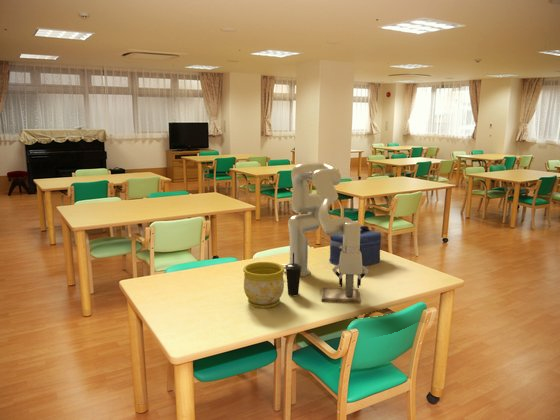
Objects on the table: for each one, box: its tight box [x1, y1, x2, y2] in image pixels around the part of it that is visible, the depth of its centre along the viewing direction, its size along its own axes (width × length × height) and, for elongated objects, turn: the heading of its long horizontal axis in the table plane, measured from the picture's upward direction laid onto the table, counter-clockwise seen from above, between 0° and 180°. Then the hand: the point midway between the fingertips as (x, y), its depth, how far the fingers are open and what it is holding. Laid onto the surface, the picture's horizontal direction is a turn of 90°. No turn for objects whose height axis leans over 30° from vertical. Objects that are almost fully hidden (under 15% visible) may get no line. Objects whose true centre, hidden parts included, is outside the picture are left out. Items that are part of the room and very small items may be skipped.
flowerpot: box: [242, 261, 285, 309], centre depth 195 cm, size 18×18×16 cm
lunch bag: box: [328, 224, 382, 267], centre depth 253 cm, size 31×21×20 cm
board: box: [321, 287, 361, 304], centre depth 204 cm, size 17×14×2 cm
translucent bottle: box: [344, 274, 355, 298], centre depth 199 cm, size 4×4×13 cm
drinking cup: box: [285, 253, 302, 297], centre depth 205 cm, size 8×8×20 cm
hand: (349, 286), depth 199 cm, fingers open, 7 cm apart
